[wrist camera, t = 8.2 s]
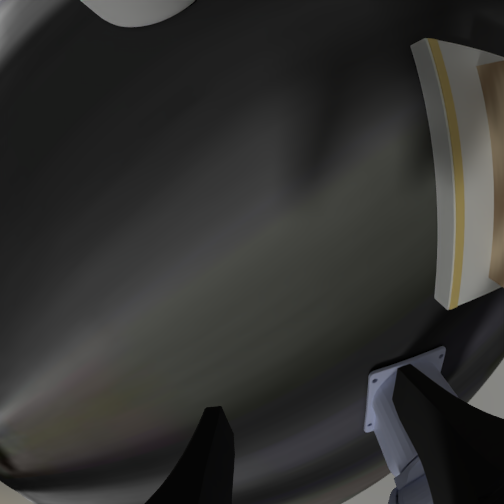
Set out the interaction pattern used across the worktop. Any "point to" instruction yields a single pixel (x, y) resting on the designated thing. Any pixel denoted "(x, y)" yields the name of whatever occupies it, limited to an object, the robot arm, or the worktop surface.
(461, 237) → the dock
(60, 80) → the worktop surface
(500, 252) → the tan notched block
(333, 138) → the worktop surface
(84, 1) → the pill bottle
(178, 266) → the worktop surface
